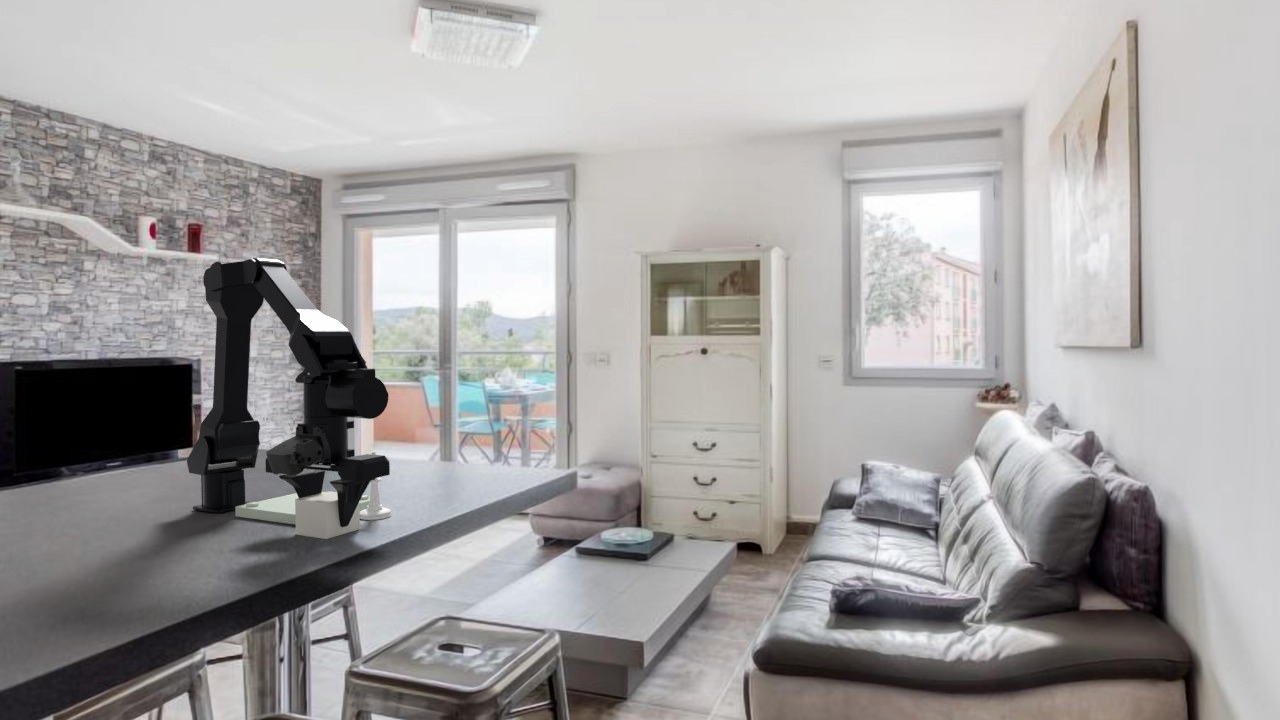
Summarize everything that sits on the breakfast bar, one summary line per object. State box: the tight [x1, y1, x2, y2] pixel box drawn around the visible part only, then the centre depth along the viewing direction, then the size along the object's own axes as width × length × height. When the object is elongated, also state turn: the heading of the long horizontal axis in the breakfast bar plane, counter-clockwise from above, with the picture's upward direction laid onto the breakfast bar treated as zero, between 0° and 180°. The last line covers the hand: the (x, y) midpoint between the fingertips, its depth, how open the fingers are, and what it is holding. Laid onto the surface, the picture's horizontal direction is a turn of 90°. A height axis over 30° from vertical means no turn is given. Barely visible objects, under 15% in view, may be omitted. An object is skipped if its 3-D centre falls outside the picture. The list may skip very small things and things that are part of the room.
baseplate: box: [234, 491, 370, 526], centre depth 123 cm, size 16×14×2 cm
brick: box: [295, 490, 361, 540], centre depth 110 cm, size 6×6×5 cm
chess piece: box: [360, 451, 393, 521], centre depth 120 cm, size 5×5×10 cm
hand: (328, 524), depth 110 cm, fingers closed on brick, 6 cm apart
